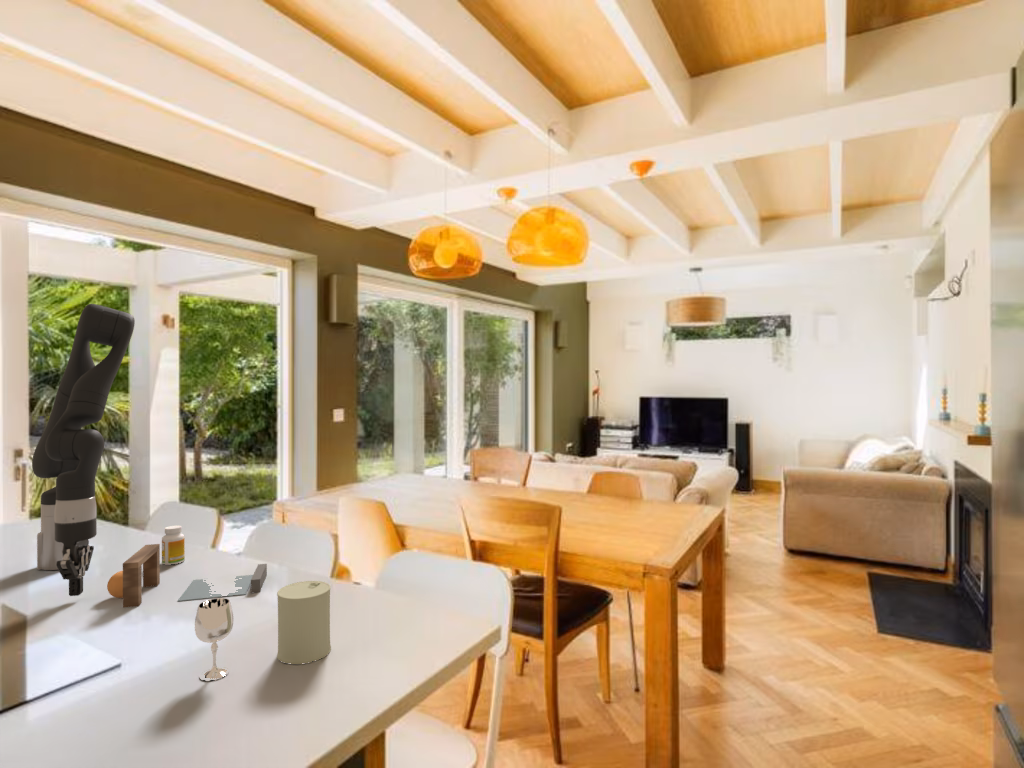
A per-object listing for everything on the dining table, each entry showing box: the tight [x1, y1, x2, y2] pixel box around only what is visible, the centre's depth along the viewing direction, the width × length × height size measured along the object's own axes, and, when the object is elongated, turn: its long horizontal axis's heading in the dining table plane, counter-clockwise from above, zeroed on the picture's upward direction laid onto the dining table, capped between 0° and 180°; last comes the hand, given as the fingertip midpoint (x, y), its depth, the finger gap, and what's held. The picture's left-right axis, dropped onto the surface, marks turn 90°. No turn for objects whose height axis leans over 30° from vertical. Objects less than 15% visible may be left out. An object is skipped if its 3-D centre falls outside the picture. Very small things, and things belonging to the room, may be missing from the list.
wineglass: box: [194, 597, 234, 679], centre depth 95 cm, size 6×6×12 cm
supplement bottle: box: [161, 525, 186, 566], centre depth 156 cm, size 5×5×10 cm
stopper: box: [250, 563, 268, 594], centre depth 139 cm, size 2×12×3 cm, turn 17°
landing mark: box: [177, 574, 253, 602], centre depth 136 cm, size 14×14×1 cm
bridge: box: [122, 543, 161, 609], centre depth 132 cm, size 3×15×10 cm, turn 17°
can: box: [276, 580, 332, 665], centre depth 103 cm, size 9×9×12 cm
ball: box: [106, 570, 123, 599], centre depth 130 cm, size 6×6×6 cm
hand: (76, 594), depth 128 cm, fingers closed
